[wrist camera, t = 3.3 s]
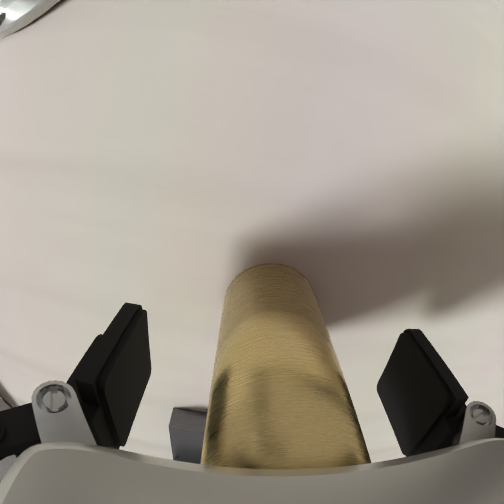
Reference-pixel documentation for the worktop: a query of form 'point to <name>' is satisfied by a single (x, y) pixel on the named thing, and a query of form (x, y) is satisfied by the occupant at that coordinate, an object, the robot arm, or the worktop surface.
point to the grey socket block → (187, 435)
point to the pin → (278, 381)
